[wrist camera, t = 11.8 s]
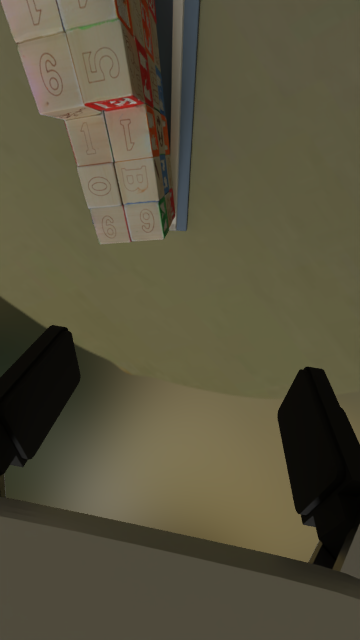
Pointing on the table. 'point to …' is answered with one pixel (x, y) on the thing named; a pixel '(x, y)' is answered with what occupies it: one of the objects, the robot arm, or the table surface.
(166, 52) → the shallow rectangular tray
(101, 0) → the stack of blocks
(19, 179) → the table surface
